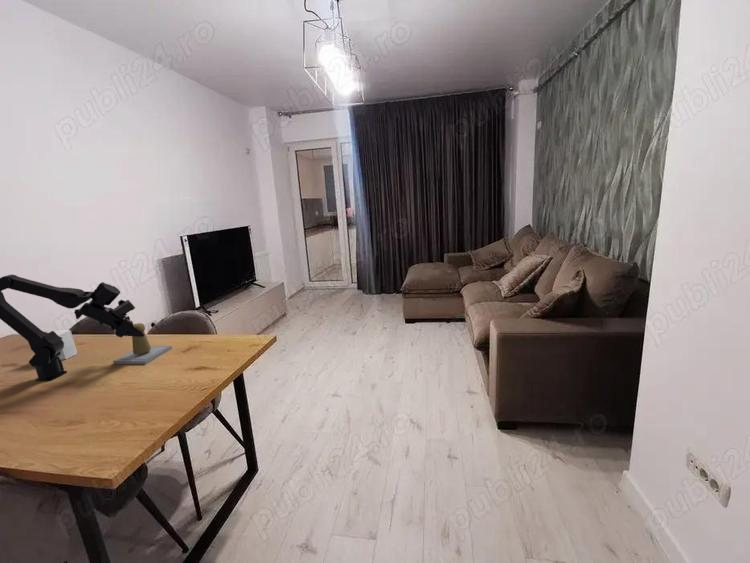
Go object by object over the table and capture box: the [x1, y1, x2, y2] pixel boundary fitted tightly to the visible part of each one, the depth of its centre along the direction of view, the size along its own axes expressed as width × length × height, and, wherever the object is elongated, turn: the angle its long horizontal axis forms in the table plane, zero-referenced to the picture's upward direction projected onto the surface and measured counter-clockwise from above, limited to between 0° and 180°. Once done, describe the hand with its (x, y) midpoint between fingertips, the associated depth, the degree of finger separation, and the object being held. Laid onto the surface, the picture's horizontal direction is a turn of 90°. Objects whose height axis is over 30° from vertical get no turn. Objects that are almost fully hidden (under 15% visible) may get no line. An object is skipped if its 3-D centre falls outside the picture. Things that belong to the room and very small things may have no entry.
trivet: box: [112, 345, 173, 365], centre depth 143 cm, size 14×14×1 cm
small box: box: [53, 330, 78, 361], centre depth 148 cm, size 8×6×10 cm
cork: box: [131, 322, 151, 354], centre depth 142 cm, size 6×6×11 cm
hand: (142, 333), depth 142 cm, fingers closed on cork, 5 cm apart
